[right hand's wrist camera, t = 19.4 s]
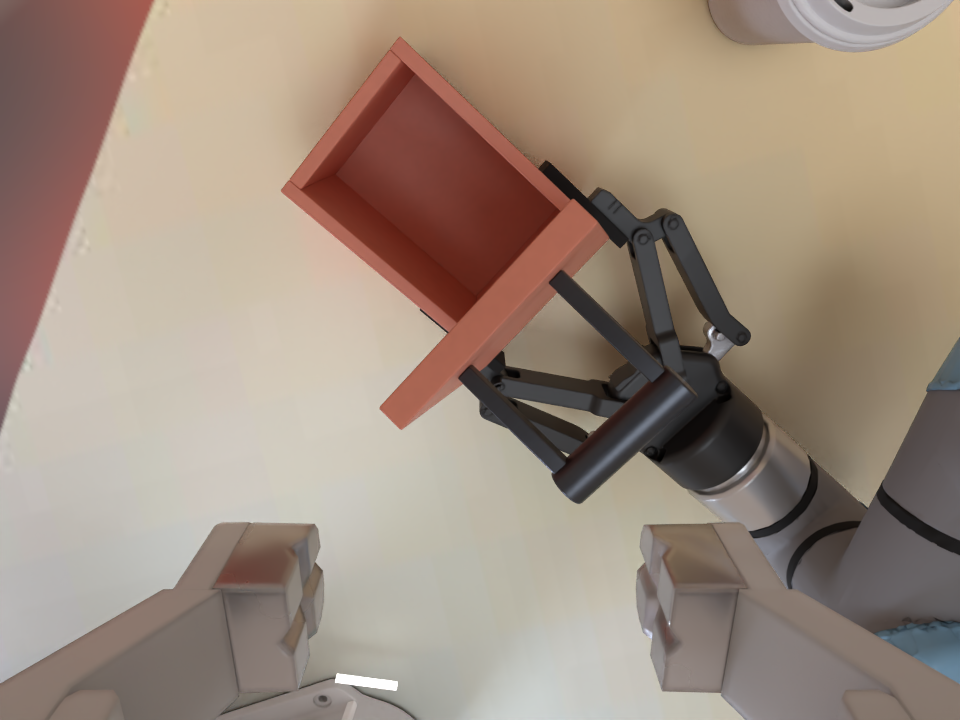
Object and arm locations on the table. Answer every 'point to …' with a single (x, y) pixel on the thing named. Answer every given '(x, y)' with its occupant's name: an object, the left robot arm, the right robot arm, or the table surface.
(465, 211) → the storage box
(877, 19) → the coffee cup
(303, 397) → the table surface
